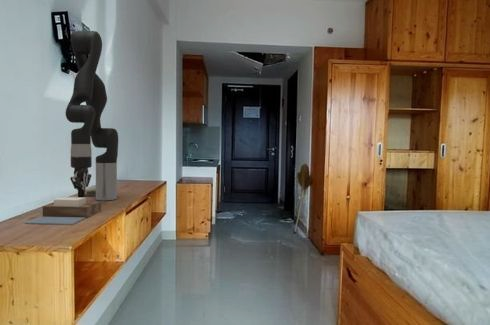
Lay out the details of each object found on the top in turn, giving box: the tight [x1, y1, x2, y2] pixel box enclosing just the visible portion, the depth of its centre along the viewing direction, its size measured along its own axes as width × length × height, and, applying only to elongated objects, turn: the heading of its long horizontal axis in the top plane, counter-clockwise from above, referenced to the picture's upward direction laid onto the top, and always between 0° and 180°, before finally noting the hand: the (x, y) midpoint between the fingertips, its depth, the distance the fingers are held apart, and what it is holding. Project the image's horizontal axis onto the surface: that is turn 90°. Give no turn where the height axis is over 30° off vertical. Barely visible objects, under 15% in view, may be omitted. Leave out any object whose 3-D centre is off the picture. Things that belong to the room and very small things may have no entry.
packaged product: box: [85, 184, 96, 197], centre depth 176 cm, size 18×5×10 cm
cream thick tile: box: [53, 196, 87, 207], centre depth 129 cm, size 6×9×2 cm, turn 89°
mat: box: [24, 216, 87, 226], centre depth 120 cm, size 10×16×1 cm, turn 89°
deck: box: [42, 200, 102, 219], centre depth 131 cm, size 12×16×4 cm
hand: (81, 198), depth 138 cm, fingers closed
